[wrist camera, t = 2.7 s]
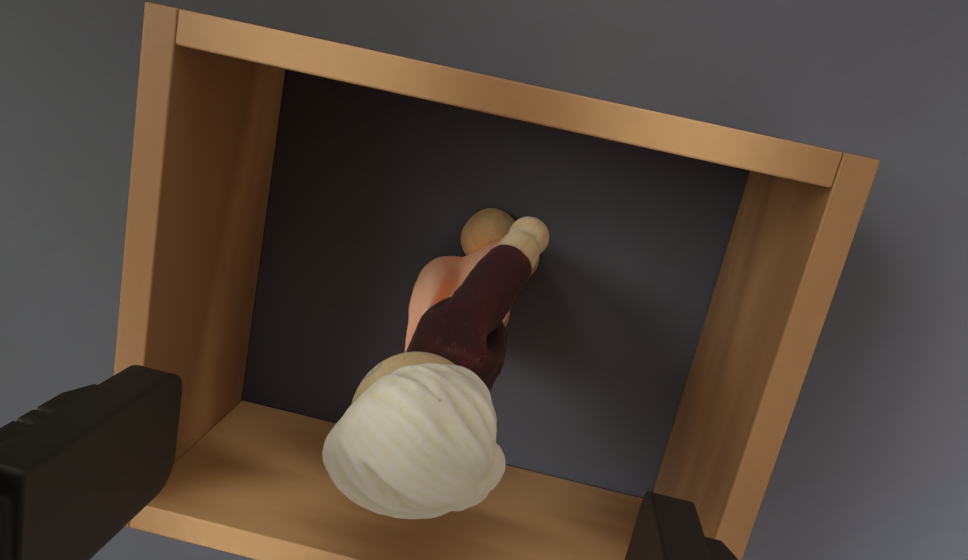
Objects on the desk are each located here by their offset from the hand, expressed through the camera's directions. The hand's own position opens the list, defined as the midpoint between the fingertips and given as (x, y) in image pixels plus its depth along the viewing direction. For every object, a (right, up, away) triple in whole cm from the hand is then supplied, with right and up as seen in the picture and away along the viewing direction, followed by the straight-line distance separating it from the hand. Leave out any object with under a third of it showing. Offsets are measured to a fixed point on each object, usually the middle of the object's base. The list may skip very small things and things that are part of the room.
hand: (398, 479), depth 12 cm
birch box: (+1, +3, +12) cm, 13 cm away
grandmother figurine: (+1, +3, +12) cm, 13 cm away
